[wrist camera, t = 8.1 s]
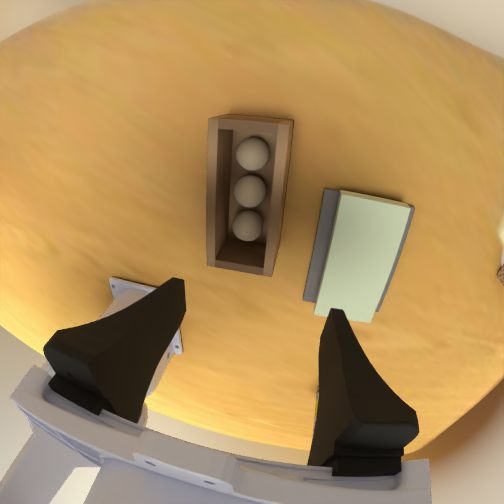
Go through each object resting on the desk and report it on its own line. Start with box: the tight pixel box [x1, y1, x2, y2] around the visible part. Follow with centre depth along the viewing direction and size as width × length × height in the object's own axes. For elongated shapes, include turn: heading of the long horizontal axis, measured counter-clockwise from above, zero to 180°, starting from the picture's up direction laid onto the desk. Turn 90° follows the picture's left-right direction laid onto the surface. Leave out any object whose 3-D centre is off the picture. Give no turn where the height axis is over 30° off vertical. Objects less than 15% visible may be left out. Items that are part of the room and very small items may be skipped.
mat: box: [303, 188, 415, 312], centre depth 22 cm, size 10×7×1 cm
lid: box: [314, 190, 411, 323], centre depth 21 cm, size 10×5×2 cm, turn 176°
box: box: [206, 114, 294, 277], centre depth 19 cm, size 10×5×4 cm, turn 176°
